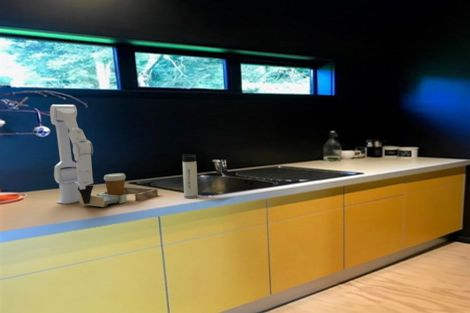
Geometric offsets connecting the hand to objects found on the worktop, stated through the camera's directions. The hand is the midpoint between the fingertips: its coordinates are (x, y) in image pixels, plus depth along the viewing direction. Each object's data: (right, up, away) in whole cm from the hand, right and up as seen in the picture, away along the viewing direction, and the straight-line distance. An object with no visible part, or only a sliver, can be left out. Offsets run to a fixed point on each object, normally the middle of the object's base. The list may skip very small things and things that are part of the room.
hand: (86, 203), depth 147 cm
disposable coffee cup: (+8, -1, +14) cm, 16 cm away
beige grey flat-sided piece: (+4, -1, +8) cm, 9 cm away
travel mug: (+41, +1, +17) cm, 45 cm away
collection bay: (+12, 0, +22) cm, 25 cm away
